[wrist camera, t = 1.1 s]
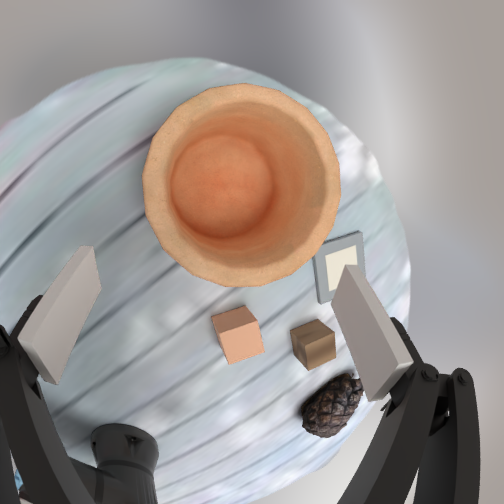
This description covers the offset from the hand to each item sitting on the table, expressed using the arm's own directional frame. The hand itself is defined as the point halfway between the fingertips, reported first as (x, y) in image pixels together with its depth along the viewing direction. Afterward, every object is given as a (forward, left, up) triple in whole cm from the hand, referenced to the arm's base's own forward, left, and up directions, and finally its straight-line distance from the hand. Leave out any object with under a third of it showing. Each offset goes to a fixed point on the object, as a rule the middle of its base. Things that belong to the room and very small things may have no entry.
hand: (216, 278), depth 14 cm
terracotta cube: (-19, -4, -28) cm, 34 cm away
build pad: (-15, -26, -28) cm, 41 cm away
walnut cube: (-27, -17, -28) cm, 43 cm away
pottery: (+3, -8, -28) cm, 29 cm away
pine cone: (-46, -20, -28) cm, 58 cm away
